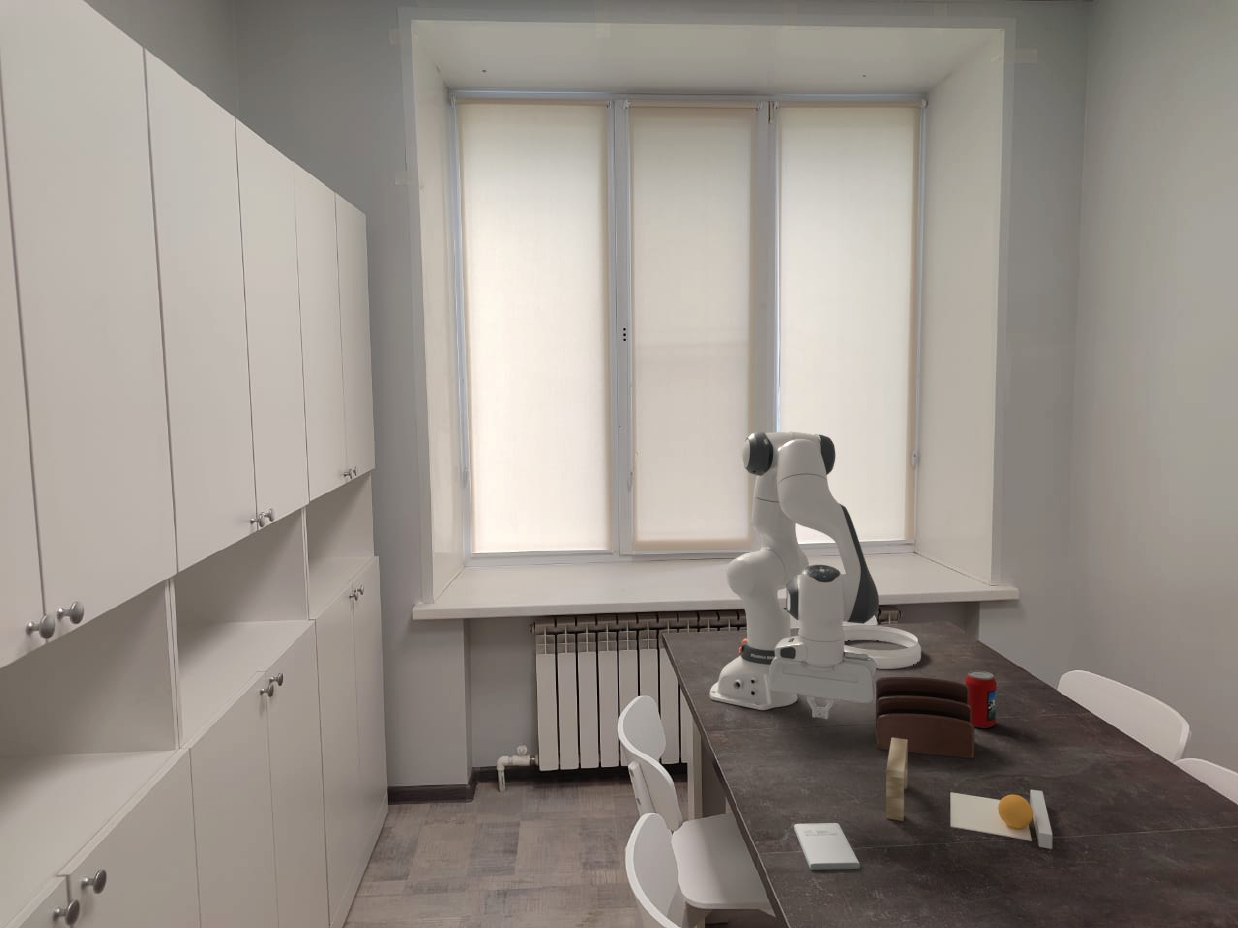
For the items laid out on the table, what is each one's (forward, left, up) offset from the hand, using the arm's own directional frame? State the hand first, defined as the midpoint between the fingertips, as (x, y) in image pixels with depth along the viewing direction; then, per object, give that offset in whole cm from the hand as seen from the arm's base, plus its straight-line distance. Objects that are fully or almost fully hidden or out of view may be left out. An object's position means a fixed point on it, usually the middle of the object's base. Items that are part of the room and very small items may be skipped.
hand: (820, 717), depth 156 cm
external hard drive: (+4, -21, -15) cm, 26 cm away
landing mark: (+30, 0, -15) cm, 34 cm away
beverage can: (+30, +44, -15) cm, 55 cm away
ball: (+35, -2, -12) cm, 37 cm away
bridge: (+14, 0, -15) cm, 21 cm away
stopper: (+39, 0, -15) cm, 42 cm away
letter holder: (+18, +28, -15) cm, 37 cm away
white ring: (+2, +89, -15) cm, 90 cm away
